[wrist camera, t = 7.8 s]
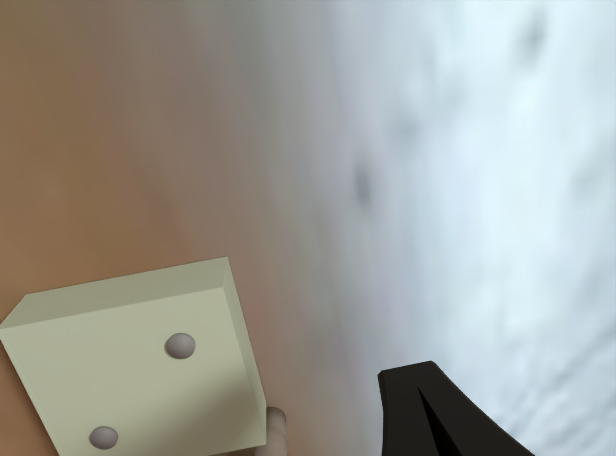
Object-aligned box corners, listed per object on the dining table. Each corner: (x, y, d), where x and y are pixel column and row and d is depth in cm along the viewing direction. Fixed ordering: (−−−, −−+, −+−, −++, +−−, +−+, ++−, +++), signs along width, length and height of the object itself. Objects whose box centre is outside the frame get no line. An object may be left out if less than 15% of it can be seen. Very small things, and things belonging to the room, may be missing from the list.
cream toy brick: (91, 435, 23) (71, 485, 20) (25, 294, 20) (-8, 333, 17) (266, 402, 23) (266, 448, 20) (227, 256, 20) (222, 289, 17)
